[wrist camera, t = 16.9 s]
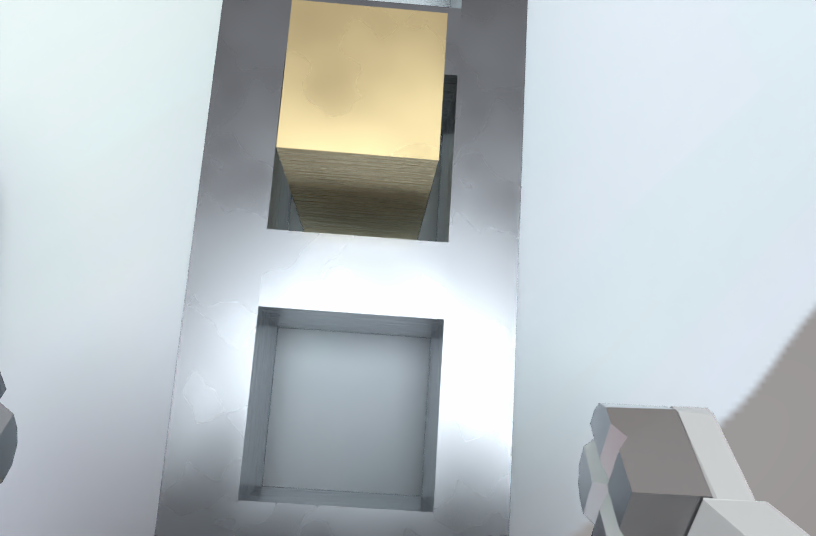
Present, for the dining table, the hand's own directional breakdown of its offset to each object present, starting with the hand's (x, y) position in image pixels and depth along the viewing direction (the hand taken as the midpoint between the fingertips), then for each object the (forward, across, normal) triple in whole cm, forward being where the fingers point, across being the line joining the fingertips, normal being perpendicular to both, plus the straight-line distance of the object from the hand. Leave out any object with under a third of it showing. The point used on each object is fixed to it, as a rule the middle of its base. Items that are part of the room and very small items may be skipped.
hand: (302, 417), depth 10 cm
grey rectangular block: (+18, 0, +6) cm, 19 cm away
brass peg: (+18, 0, +6) cm, 19 cm away
